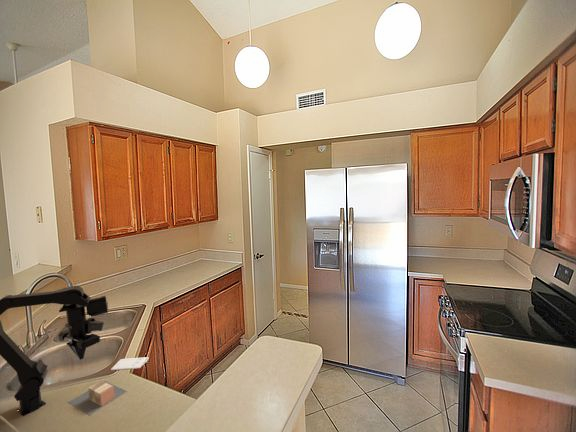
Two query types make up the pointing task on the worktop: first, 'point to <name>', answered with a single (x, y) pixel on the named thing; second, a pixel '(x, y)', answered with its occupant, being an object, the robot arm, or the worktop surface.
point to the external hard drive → (130, 363)
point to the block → (101, 393)
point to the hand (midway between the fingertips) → (81, 358)
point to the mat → (90, 406)
